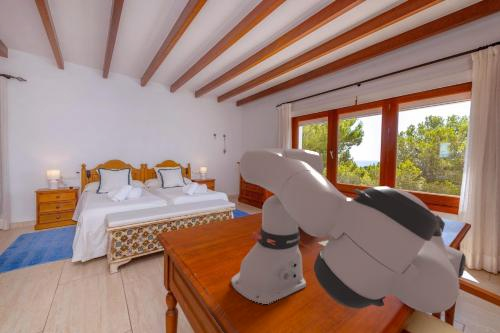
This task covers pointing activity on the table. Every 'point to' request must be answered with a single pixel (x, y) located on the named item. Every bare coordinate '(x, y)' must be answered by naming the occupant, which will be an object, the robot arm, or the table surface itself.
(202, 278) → the table surface
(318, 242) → the sage mat
